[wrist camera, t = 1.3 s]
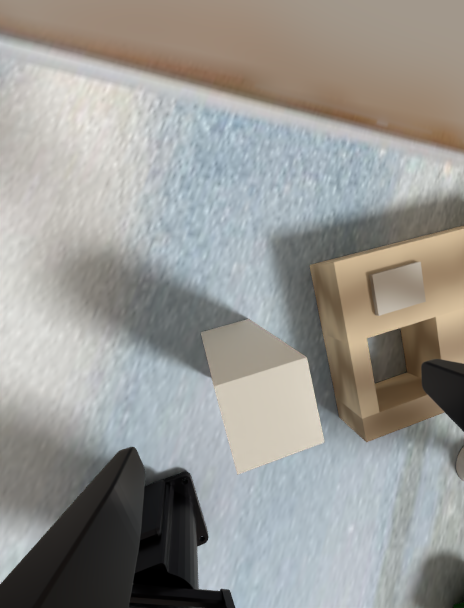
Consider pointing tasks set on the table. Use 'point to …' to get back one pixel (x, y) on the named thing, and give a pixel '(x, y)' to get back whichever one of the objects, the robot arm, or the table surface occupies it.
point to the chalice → (460, 464)
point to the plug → (261, 394)
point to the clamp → (458, 605)
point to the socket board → (391, 325)
